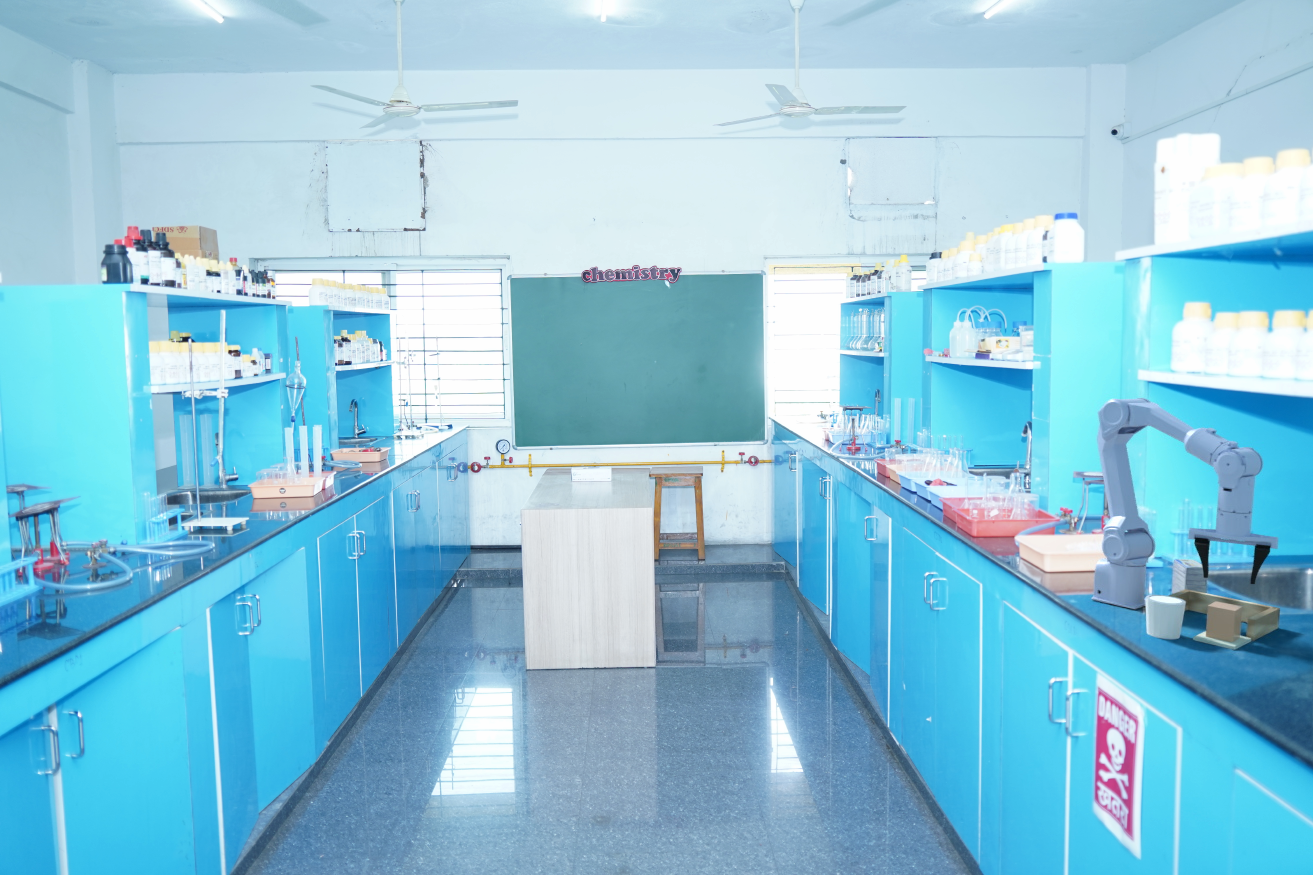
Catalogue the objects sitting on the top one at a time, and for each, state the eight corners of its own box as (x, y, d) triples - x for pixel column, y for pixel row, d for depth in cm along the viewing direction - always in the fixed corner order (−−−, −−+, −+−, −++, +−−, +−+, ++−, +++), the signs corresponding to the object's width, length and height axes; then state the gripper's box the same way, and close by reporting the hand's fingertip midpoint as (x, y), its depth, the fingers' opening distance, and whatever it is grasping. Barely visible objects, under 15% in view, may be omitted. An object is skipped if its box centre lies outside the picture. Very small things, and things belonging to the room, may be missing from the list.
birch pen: (1156, 618, 186) (1157, 599, 186) (1184, 607, 194) (1185, 588, 194) (1253, 640, 172) (1254, 620, 172) (1278, 627, 181) (1280, 608, 180)
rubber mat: (1193, 639, 173) (1193, 636, 173) (1210, 631, 178) (1210, 628, 178) (1234, 649, 167) (1234, 646, 167) (1251, 641, 172) (1251, 637, 172)
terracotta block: (1205, 636, 173) (1207, 605, 172) (1213, 631, 176) (1215, 601, 175) (1232, 642, 170) (1235, 610, 169) (1240, 637, 173) (1242, 606, 172)
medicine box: (1206, 607, 194) (1209, 567, 193) (1183, 606, 195) (1186, 566, 194) (1192, 597, 202) (1195, 559, 201) (1170, 596, 203) (1173, 558, 202)
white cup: (1191, 639, 173) (1194, 603, 172) (1156, 640, 172) (1159, 604, 172) (1169, 628, 180) (1171, 593, 179) (1135, 629, 179) (1137, 594, 178)
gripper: (1280, 511, 175) (1274, 581, 176) (1192, 503, 183) (1187, 569, 184) (1280, 517, 169) (1274, 589, 170) (1189, 508, 177) (1184, 577, 178)
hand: (1228, 579), depth 177 cm, fingers open, 7 cm apart
